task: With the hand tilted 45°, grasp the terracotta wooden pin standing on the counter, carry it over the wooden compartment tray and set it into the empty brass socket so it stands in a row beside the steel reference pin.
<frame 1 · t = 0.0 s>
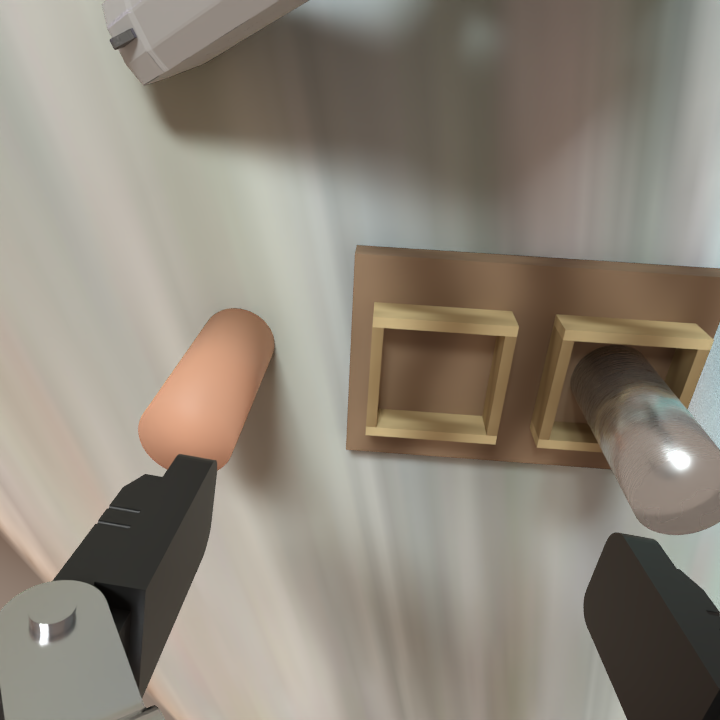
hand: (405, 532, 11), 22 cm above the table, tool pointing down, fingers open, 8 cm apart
reference pin: (609, 378, 33), resting on wooden compartment tray
pin: (238, 341, 35), on the table
wooden compartment tray: (516, 360, 35), on the table
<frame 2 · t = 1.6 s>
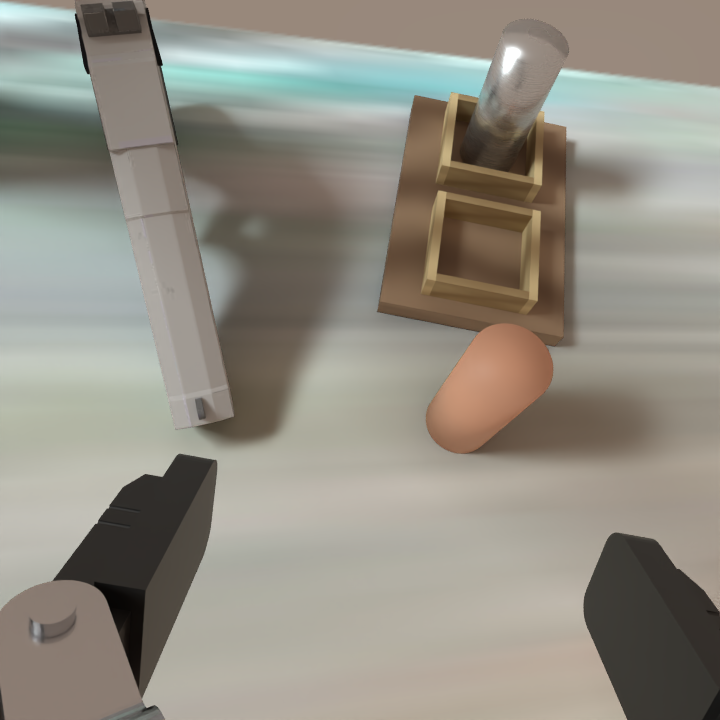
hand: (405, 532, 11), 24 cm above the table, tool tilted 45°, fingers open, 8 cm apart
handgun: (176, 250, 41), on the table
reference pin: (486, 155, 46), resting on wooden compartment tray
pin: (458, 420, 38), on the table
wooden compartment tray: (476, 217, 45), on the table
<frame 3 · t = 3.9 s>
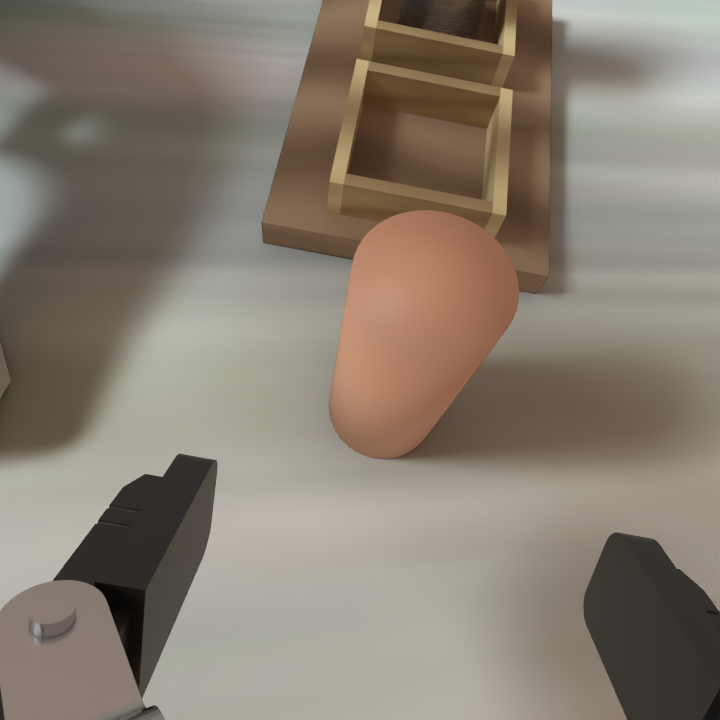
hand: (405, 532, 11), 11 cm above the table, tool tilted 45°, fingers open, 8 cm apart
reference pin: (437, 27, 32), resting on wooden compartment tray
pin: (381, 407, 24), on the table
wooden compartment tray: (422, 114, 31), on the table
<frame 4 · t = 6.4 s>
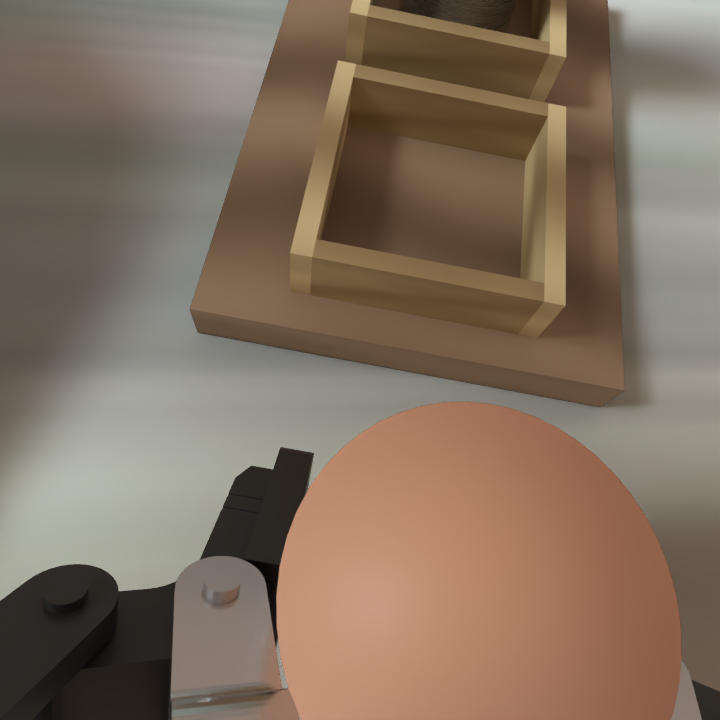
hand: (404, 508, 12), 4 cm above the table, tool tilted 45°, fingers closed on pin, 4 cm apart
reference pin: (453, 17, 23), resting on wooden compartment tray
pin: (369, 606, 15), on the table, touching gripper
wooden compartment tray: (432, 138, 22), on the table
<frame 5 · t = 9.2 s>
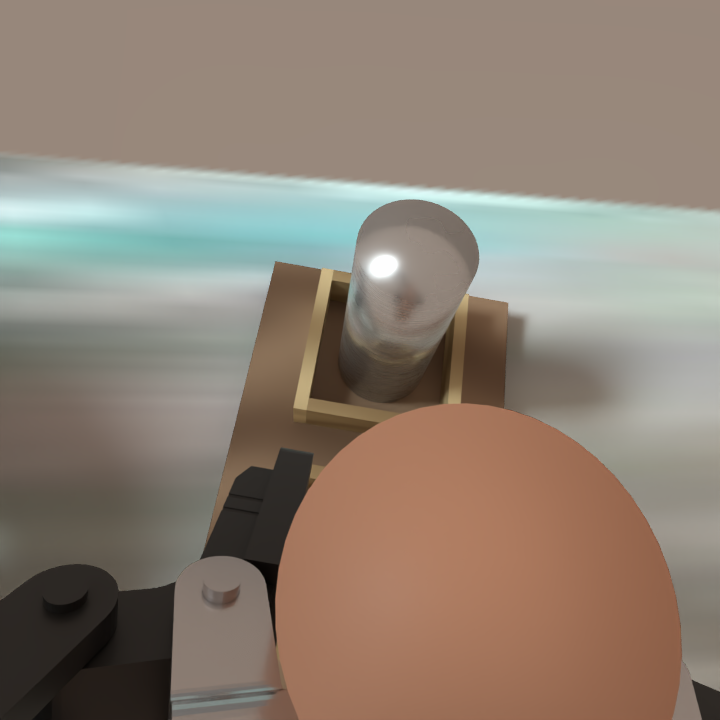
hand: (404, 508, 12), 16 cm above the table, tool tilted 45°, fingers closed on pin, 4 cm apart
reference pin: (380, 362, 29), resting on wooden compartment tray
pin: (369, 607, 15), point 12 cm above the table, touching gripper
wooden compartment tray: (364, 466, 29), on the table
when the fingers open (7 cm above the table, at t = 12.0 s): pin drops 1 cm, resting on wooden compartment tray.
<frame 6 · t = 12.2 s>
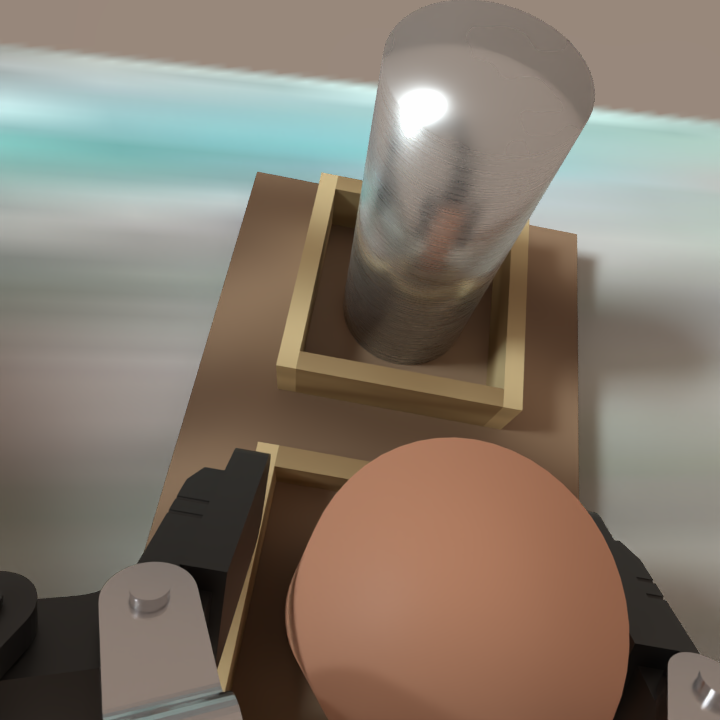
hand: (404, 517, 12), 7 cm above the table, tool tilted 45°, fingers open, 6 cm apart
reference pin: (403, 309, 21), resting on wooden compartment tray
pin: (361, 610, 16), point 2 cm above the table, touching wooden compartment tray
wooden compartment tray: (378, 455, 20), on the table
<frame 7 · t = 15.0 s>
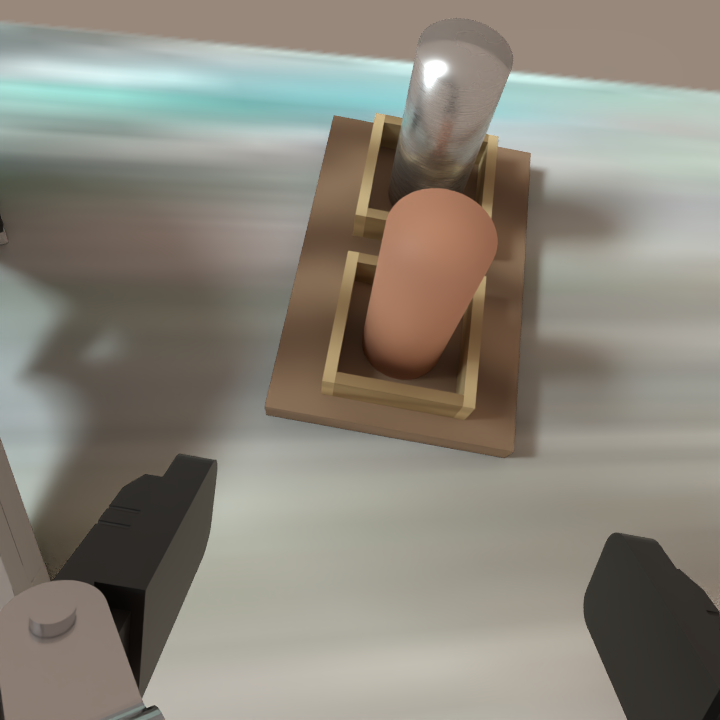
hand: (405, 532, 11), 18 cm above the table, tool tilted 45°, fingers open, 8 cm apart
reference pin: (423, 194, 35), resting on wooden compartment tray
pin: (402, 341, 31), point 2 cm above the table, touching wooden compartment tray
wooden compartment tray: (409, 277, 34), on the table
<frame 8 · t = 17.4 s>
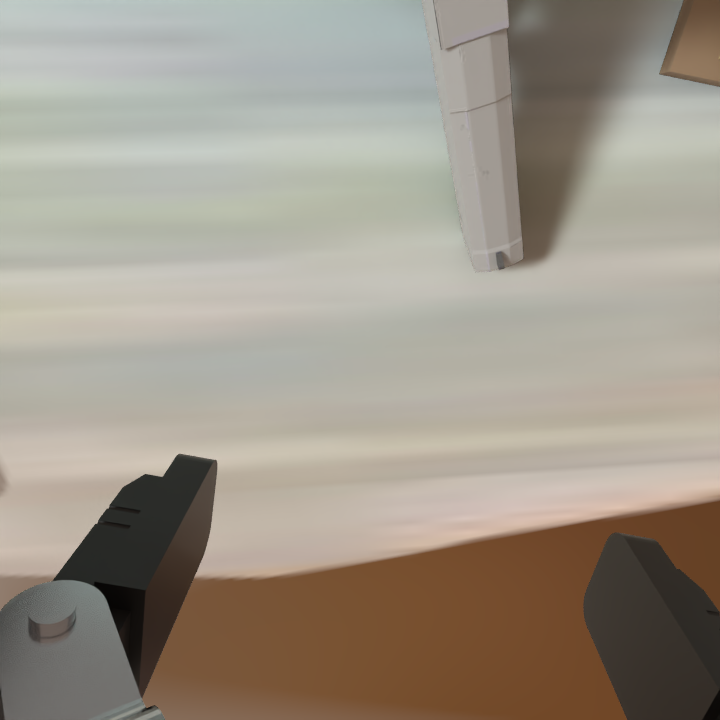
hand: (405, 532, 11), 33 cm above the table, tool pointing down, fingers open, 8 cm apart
handgun: (445, 52, 38), on the table
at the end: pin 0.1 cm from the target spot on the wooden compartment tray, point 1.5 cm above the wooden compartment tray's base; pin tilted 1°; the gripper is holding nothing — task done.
